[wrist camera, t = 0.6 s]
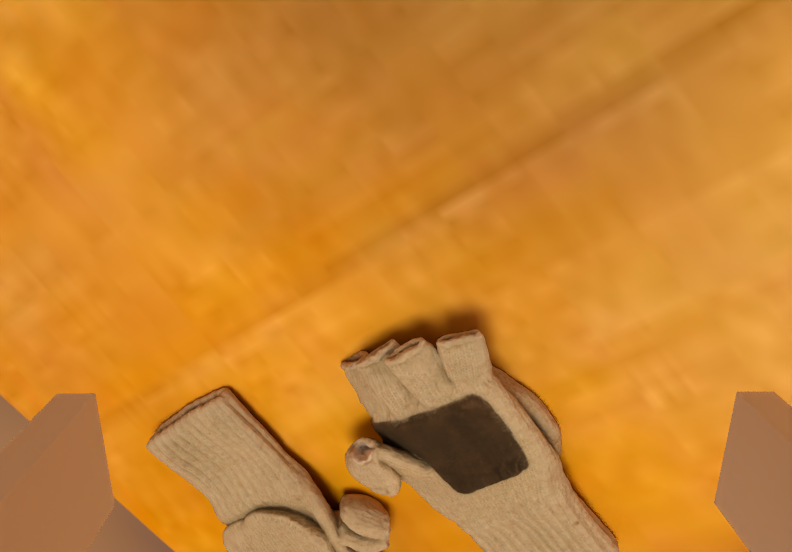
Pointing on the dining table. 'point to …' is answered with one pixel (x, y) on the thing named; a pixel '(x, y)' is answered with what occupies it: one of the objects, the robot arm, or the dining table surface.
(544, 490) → the pair of gloves
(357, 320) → the dining table surface
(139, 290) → the dining table surface
